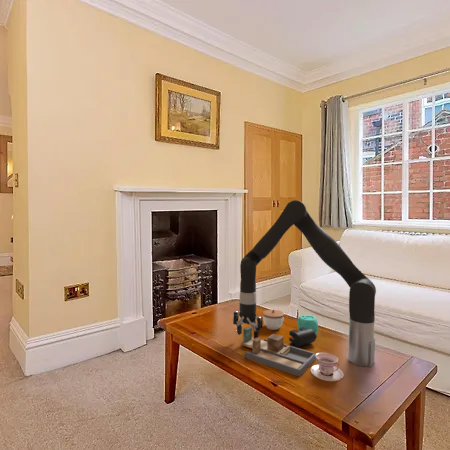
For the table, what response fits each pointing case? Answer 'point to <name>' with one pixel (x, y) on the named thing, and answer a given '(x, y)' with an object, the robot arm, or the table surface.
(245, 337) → the strip
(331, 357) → the teacup
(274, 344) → the walnut cube
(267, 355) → the strip
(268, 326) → the lidded jar
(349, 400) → the table surface
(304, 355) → the tray
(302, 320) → the decorative dice
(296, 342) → the end cap
